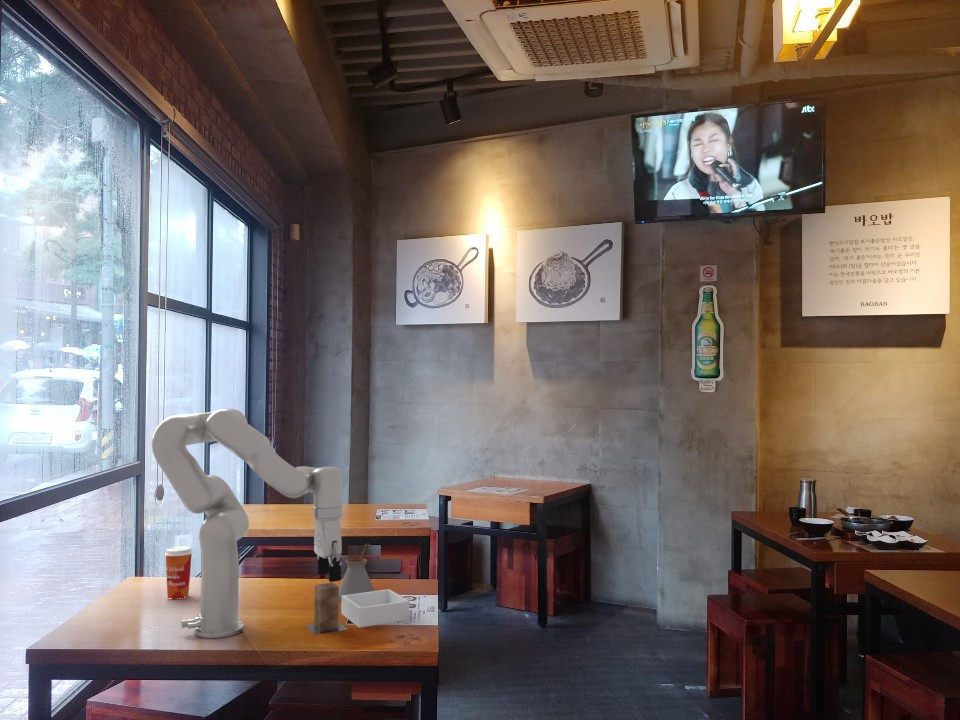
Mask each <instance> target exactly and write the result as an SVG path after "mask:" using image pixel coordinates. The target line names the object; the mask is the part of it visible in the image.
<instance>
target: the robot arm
mask: <svg viewBox="0 0 960 720" xmlns="http://www.w3.org/2000/svg"><path fill="white" fill-rule="evenodd" d="M213 442H217V443H219V444H220V445H222V446H223V447H224V448H226V449H227V451H228V450H229V451H230V452H231V453H233V454H234V455H235V456H236V457H238V458H239V459H241V460H242V461H243V462H245V463H246V464H247V465H248V467H250V469H252V471H253V472H254V473H255V474H256V475H257V476H258V477H259V478H260V479H262V481H263V482H265V483H266V484H267V485H269V486H270V487H271V488H273V489H274V490H276V491H277V492H279V493H280V494H281V495H283V496H284V497H287V498H290V499H296V498H297V499H298V498H300V497H302V496H304V495H306V494H308V493H313V520H314V537H313V539H314V541H313V551H314V553H315V554H316V555H317V556H316V557H317V560H316V562H317V575H327V574H328V582H329V583H335V582H340V581H342V551H343V549H342V548H343V546H342V543H343V542H342V528H341V519H343V483H342V482H343V481H342V480H343V479H342V478H343V477H342V470H341V468H340V467H338V466H322V467H315V466H314V467H313V466H307V465H306V466H303V465H301V466H296V467H295V466H293V465H291V464H289V463H288V461H286V460H284V459H283V458H282V457H281V456H279V454H278V453H277V452H276V451H275V450H274V448H273V447H272V444H271V441H270V439H269V438H268V437H267V436H266V435H264V434H262V432H260V431H259V430H257V429H256V428H255V427H253V426H252V425H251V424H249V423H248V421H247V417H246V416H245V415H244V413H243V412H241V411H240V410H238V409H235V408H223V409H218V410H216V411H209V412H200V413H199V412H198V413H188V414H175V415H172V416H169V417H167V418H165V419H163V420H162V421H161V422H160V423H159V424H158V426H157V427H156V428H155V431H154V433H153V435H152V440H151V450H152V454H153V457H154V459H155V461H156V463H157V464H158V466H159V467H160V469H161V470H162V472H163V473H164V475H165V476H166V478H167V480H168V481H169V483H170V485H171V486H172V488H173V489H174V491H175V493H176V494H177V496H178V497H179V499H180V501H181V502H182V504H183V505H184V507H185V508H186V509H187V511H189V512H190V513H192V514H204V513H205V514H206V518H205V519H204V521H202V523H201V525H200V528H199V533H198V539H199V540H198V541H199V547H200V563H201V565H200V566H201V567H200V568H201V569H200V575H201V579H200V612H199V613H197V616H195V617H194V618H191V619H181V621H180V623H181V624H180V625H181V628H182V629H184V628H187V629H188V630H189V629H193V634H194V635H195V636H196V637H199V638H203V639H217V638H218V639H221V638H227V637H231V636H234V635H236V634H239V633H241V632H242V631H243V628H244V627H245V625H244V623H243V622H242V621H240V620H239V583H240V582H239V577H240V576H239V574H240V570H239V569H240V565H239V564H240V563H239V562H240V561H239V558H240V557H239V551H238V549H239V548H238V543H237V542H238V541H239V540H240V539H242V538H243V537H244V536H246V534H247V532H248V530H249V526H250V521H249V517H248V514H247V512H246V510H245V509H244V507H243V506H242V504H241V503H240V501H239V500H238V498H237V496H236V495H235V493H234V492H233V490H232V488H231V487H230V486H229V484H228V483H227V481H225V480H224V478H222V477H220V476H217V475H216V474H215V475H213V474H206V473H205V471H204V470H203V469H202V467H201V466H200V463H199V462H198V460H197V459H196V458H195V457H194V455H192V454H191V453H190V451H189V450H188V448H187V446H189V445H197V444H202V443H213Z"/></svg>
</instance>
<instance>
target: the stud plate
mask: <svg viewBox="0 0 960 720" xmlns="http://www.w3.org/2000/svg"><path fill="white" fill-rule="evenodd" d="M304 626H305V627H306V628H307V630H309V631H310V633H312V634H313V635H314V636H317V635H325V634H330V633H335V632H336V633H337V632H344V631H348V627H345V625H344V624H343V623H341V622H340V621H338V629H333V630H326V631H319V630H318V629H317V628H316V627H315V626H314V623H312V624H306V625H305V624H304Z"/></svg>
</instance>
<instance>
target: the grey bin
mask: <svg viewBox="0 0 960 720" xmlns="http://www.w3.org/2000/svg"><path fill="white" fill-rule="evenodd" d="M340 602H341V611H340V612H341V613H340V614H341V615H342V616H344V617H345V618H346V619H348V621H350V622H351V623H353V624H354V625H356V626H357V627H358V628H366V627H371V626H372V627H373V626H378V625H384V624H391V623H397V622H403V623H404V624H410V600H408V599H406V598H405V597H403V596H401V595H400V594H398V593H396V592H395V591H393V590H391V589H390V588H388V589H380V590H374V591H372V592H365V593H357V594H350V595H343V596H342V598H341V601H340Z"/></svg>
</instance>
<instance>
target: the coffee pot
mask: <svg viewBox="0 0 960 720" xmlns="http://www.w3.org/2000/svg"><path fill="white" fill-rule="evenodd" d="M369 546H370V547H369ZM368 547H369V548H368ZM371 547H372V546H371V544H369V543H365V544H364V545H363V550H362V551H361V556H360V557H353V558H348V559H346V560H345V563H346V565H347V569H346V571H345V573H344V575H343V577H342V579H341V583H340V585H339V586H338V587H339V602H341V598H342V596H343V595H350V594H357V593H365V592H372V591H375V588H374V587H373V583H372V582H371V580H370V577H369V574H368V571H367V569H366V564H367V563H368V562H369V561H368V559H366V558H365V557H366V554H367V550H370V549H371Z"/></svg>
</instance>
